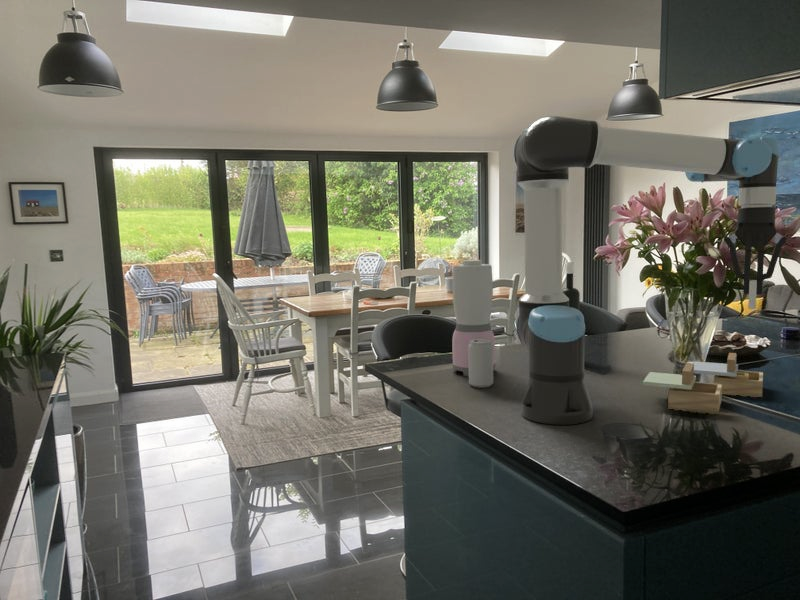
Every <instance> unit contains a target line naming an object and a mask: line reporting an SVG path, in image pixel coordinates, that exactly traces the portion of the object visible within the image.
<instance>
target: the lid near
mask: <svg viewBox="0 0 800 600" xmlns="http://www.w3.org/2000/svg"><path fill="white" fill-rule="evenodd" d="M696 380H697V376H696V375H695V373H694V364H692V363H689V362H687V363H685V365H684V367H683V369H682V371H681V374H679V373H677V374H676V373H667V372H666V373H665V372H655V371H653V372H652V371H649V372H648V374H647V376H645V378H644V380H642V386H649V387H650V386H652V387H661V388H680V389H692V387H693V385H694V382H696Z"/></svg>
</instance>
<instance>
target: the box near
mask: <svg viewBox="0 0 800 600" xmlns="http://www.w3.org/2000/svg"><path fill="white" fill-rule="evenodd" d="M668 388H669V389H668V398H667V399H668V401H667V403H668V405H667V410H669V409H674V410H673V411H678V410H682V411H681V412H687V411H689V412H690V413H696V412H697V413H699V414H705V413H709V414H708V415H714V414H720V409H721V404H722V399H723V398H722V395H723V394H722V384H715V383H714V382H713V383H712V382H701V381H695V382H694V385H693V387H692V389H680V388H670V387H668Z"/></svg>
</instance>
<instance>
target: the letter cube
mask: <svg viewBox="0 0 800 600" xmlns="http://www.w3.org/2000/svg"><path fill="white" fill-rule="evenodd" d="M748 377H749V373H743V372H737V375H736V377H732V376H729V378H736V379H747V380H748Z"/></svg>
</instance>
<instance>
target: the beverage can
mask: <svg viewBox="0 0 800 600" xmlns="http://www.w3.org/2000/svg"><path fill="white" fill-rule="evenodd" d="M468 356H469V376H468V384H470V385H471V386H472V387H474V388H480V389H483V388H484V389H485V388H491V386H492V385H493V384H494V369H493V345H492V343H491V340H488V339H473V340H470V344H469V345H468Z"/></svg>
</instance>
